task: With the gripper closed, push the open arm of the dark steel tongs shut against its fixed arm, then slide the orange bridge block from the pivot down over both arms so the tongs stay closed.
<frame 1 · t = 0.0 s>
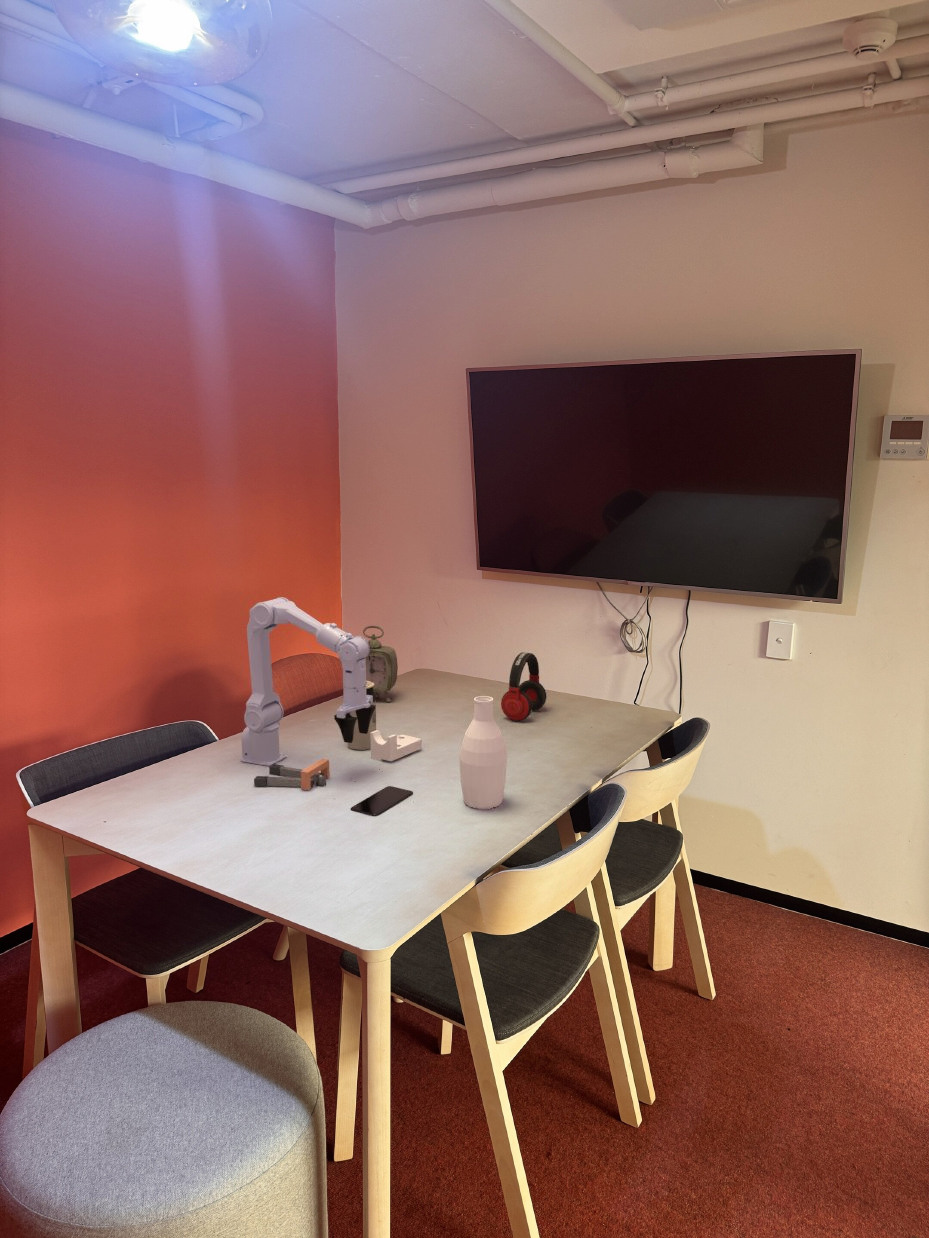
hand: (355, 737, 220), 10 cm above the table, tool pointing down, fingers open, 7 cm apart
bottle: (483, 803, 205), on the table
tong arm: (284, 781, 214), point 1 cm above the table, hinge at 18.0°
smartphone: (382, 803, 206), on the table
tabletop clock: (375, 699, 289), on the table
travel mug: (362, 746, 244), on the table
bracket: (396, 755, 237), on the table
headphones: (523, 716, 272), on the table
orange bridge block: (315, 774, 216), point 3 cm above the table, slide at 0.0 cm
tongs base: (321, 784, 216), on the table
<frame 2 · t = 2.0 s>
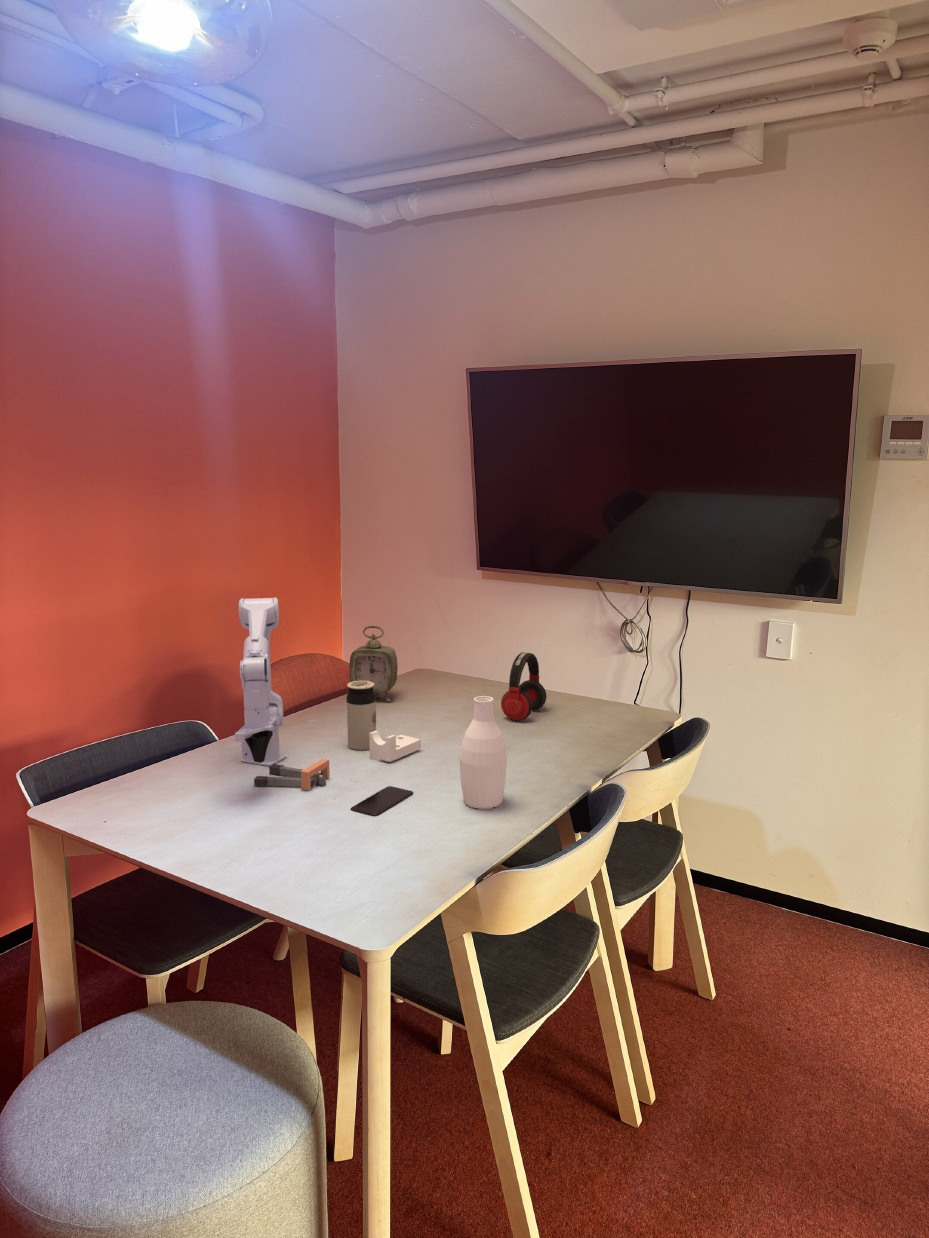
hand: (259, 761, 208), 8 cm above the table, tool pointing down, fingers closed
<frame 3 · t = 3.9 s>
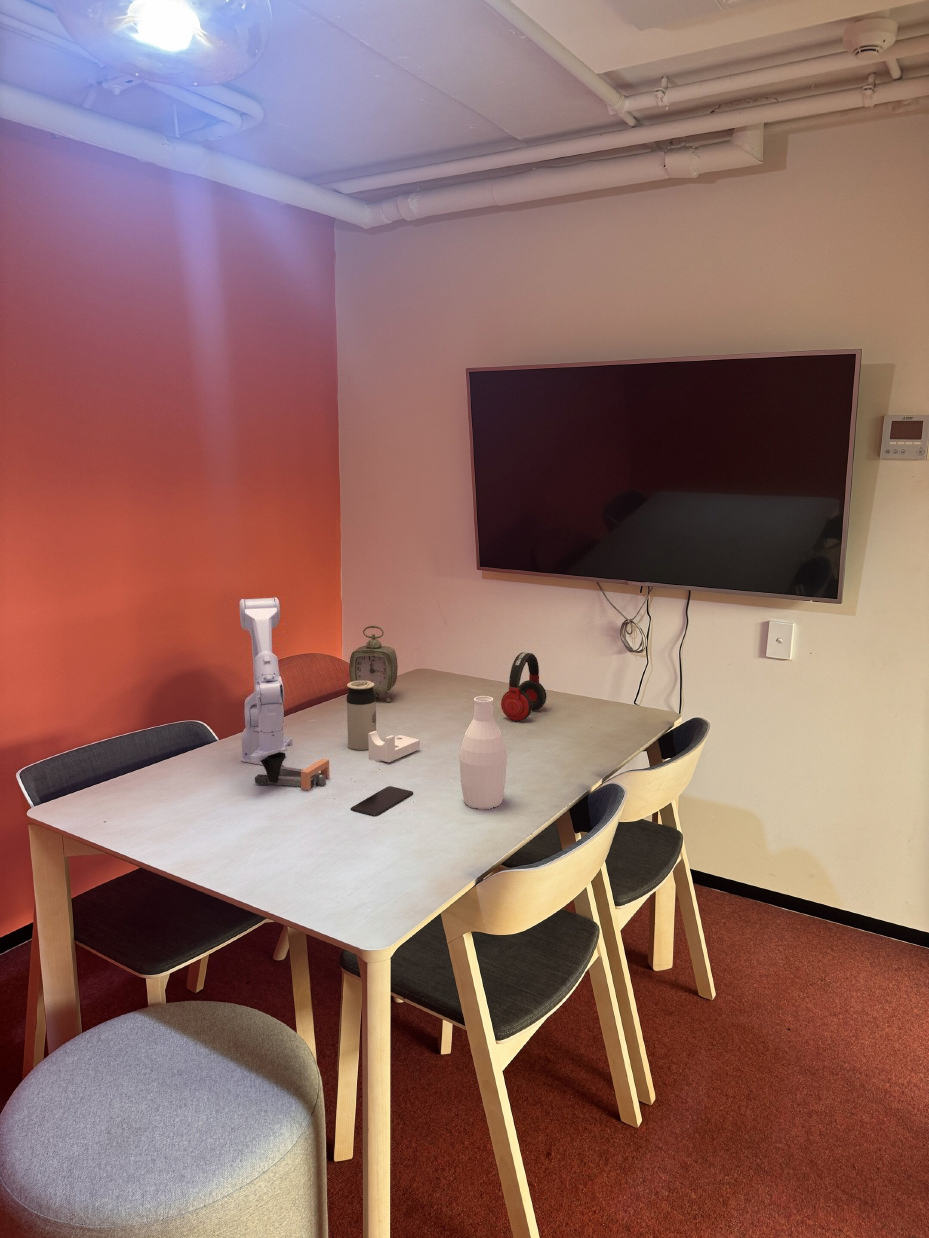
hand: (273, 781, 214), 1 cm above the table, tool pointing down, fingers closed
tong arm: (284, 780, 215), point 1 cm above the table, hinge at 13.9°, touching gripper
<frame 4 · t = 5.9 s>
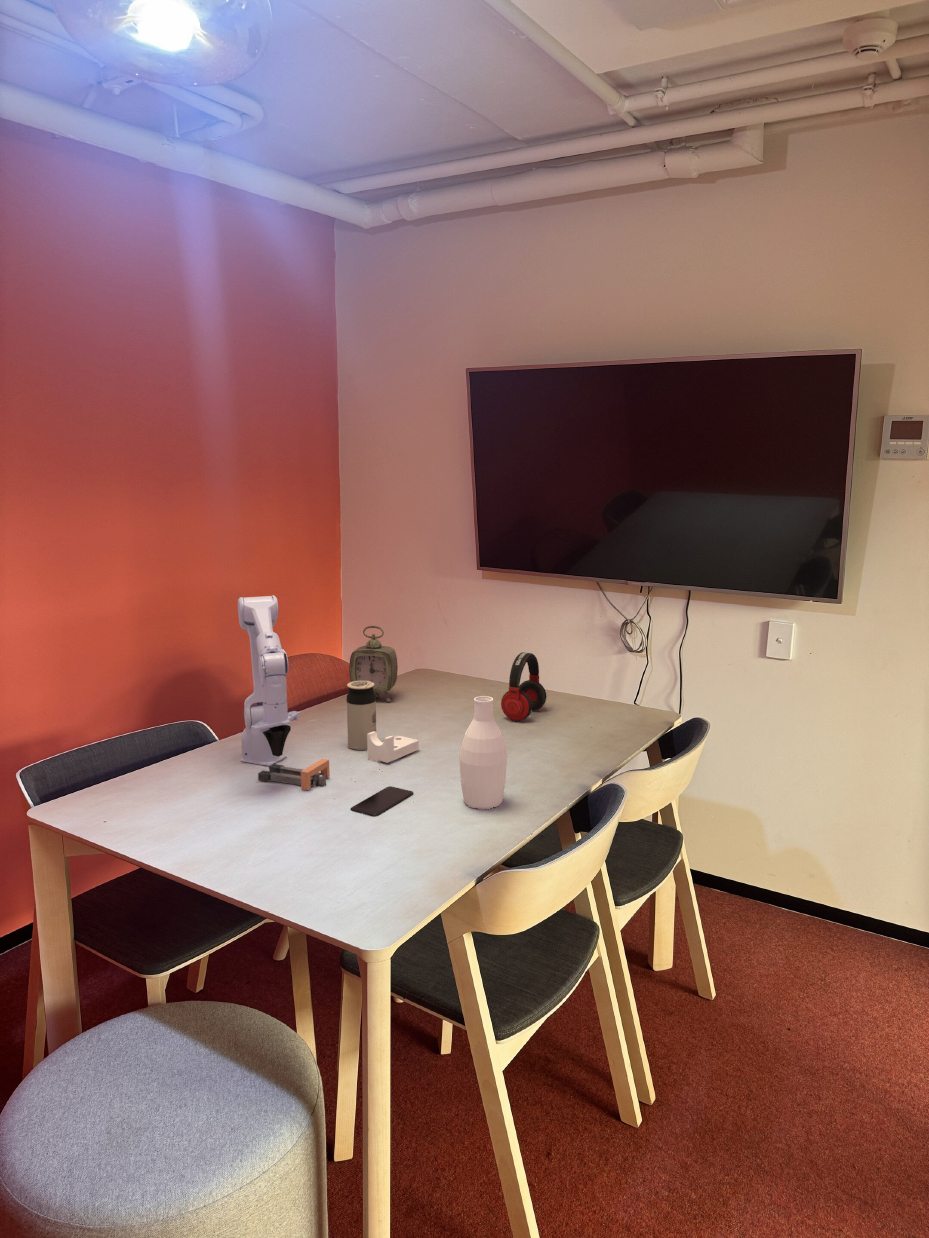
hand: (277, 755, 212), 8 cm above the table, tool pointing down, fingers closed
tong arm: (285, 778, 216), point 1 cm above the table, hinge at 4.4°
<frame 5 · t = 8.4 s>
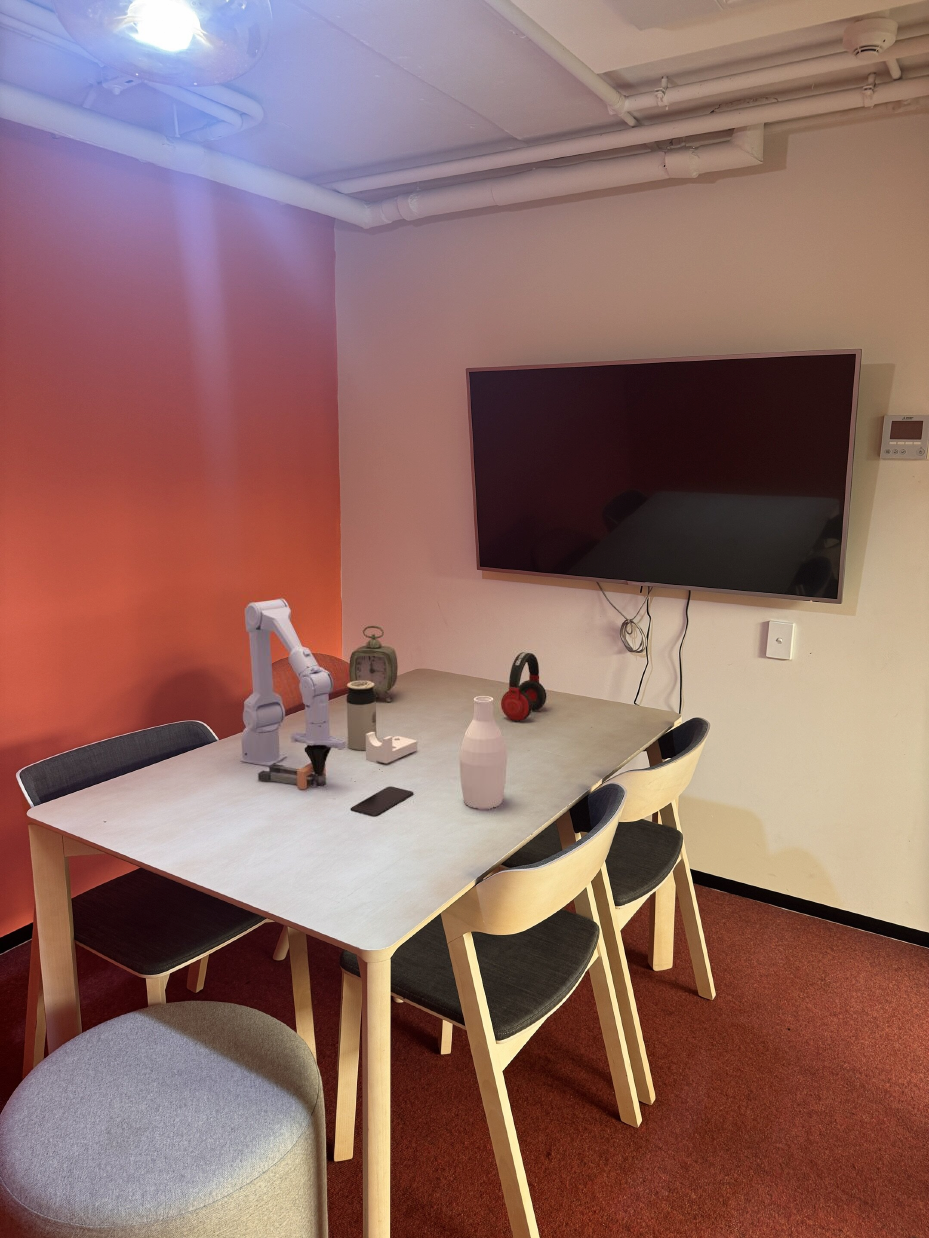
hand: (319, 773, 215), 3 cm above the table, tool pointing down, fingers closed
orange bridge block: (311, 773, 216), point 3 cm above the table, slide at 1.1 cm, touching gripper
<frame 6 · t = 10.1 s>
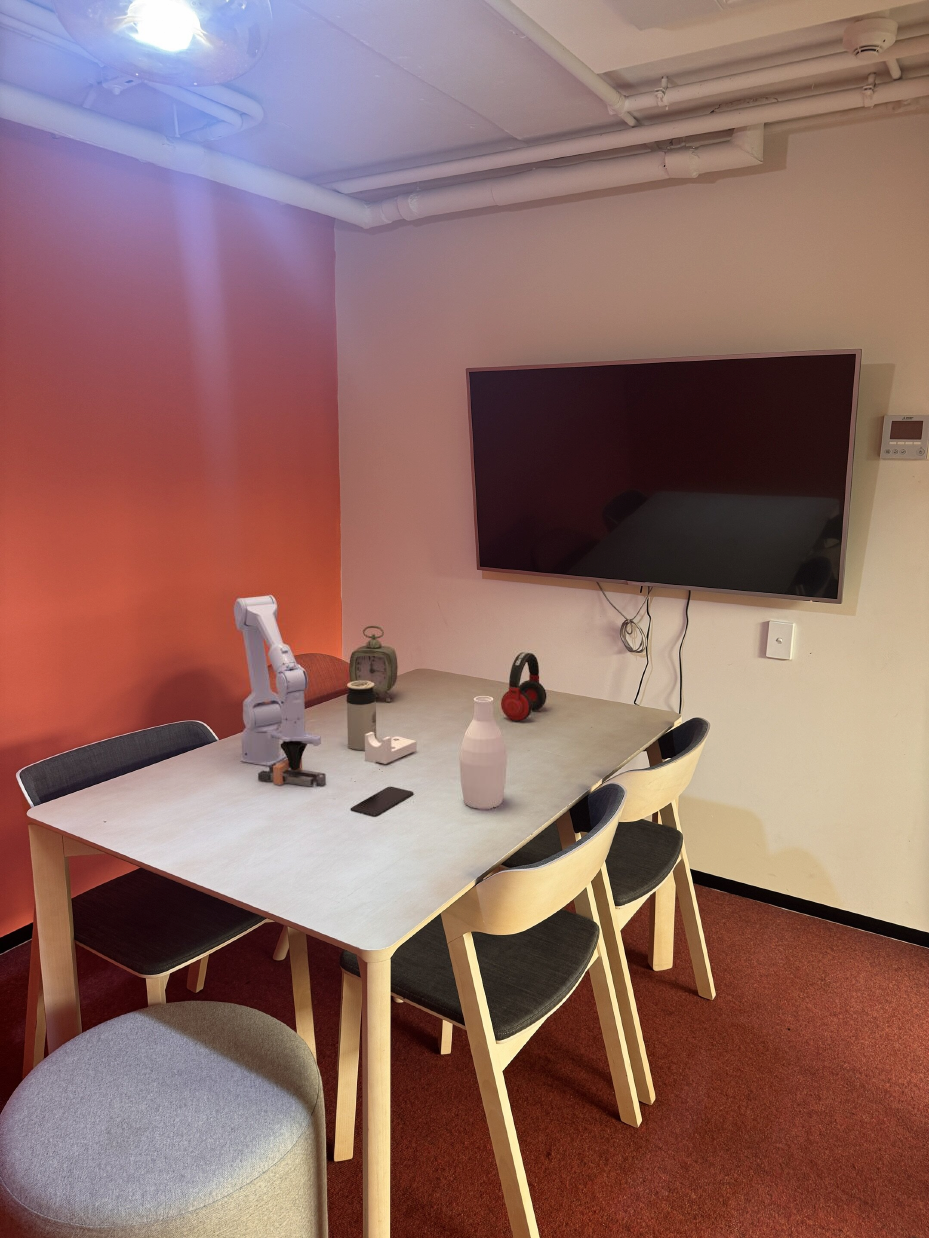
hand: (295, 768, 218), 3 cm above the table, tool pointing down, fingers closed
orange bridge block: (288, 769, 219), point 3 cm above the table, slide at 8.2 cm, touching gripper
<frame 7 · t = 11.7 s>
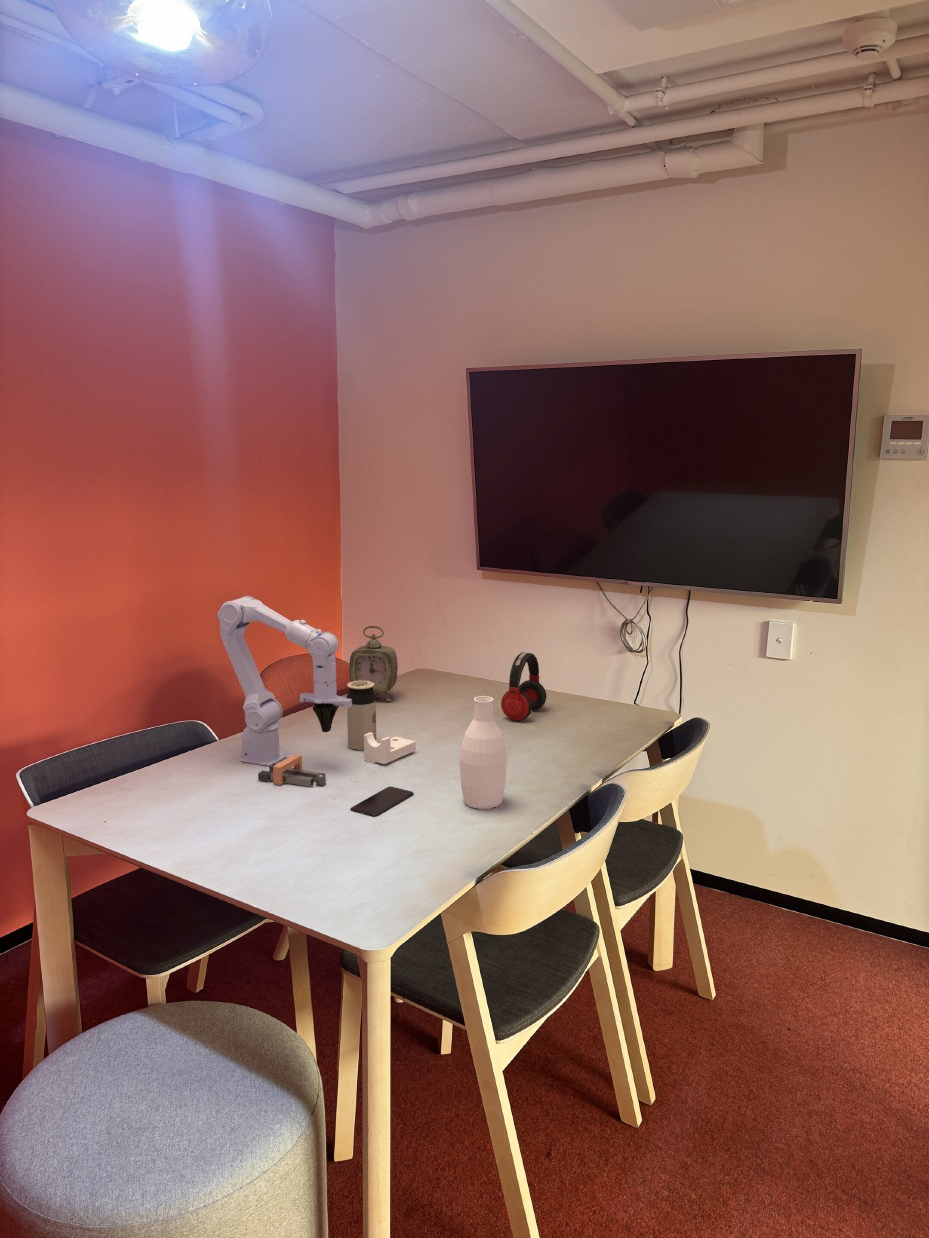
hand: (326, 730, 225), 10 cm above the table, tool pointing down, fingers closed
orange bridge block: (288, 769, 219), point 3 cm above the table, slide at 8.2 cm
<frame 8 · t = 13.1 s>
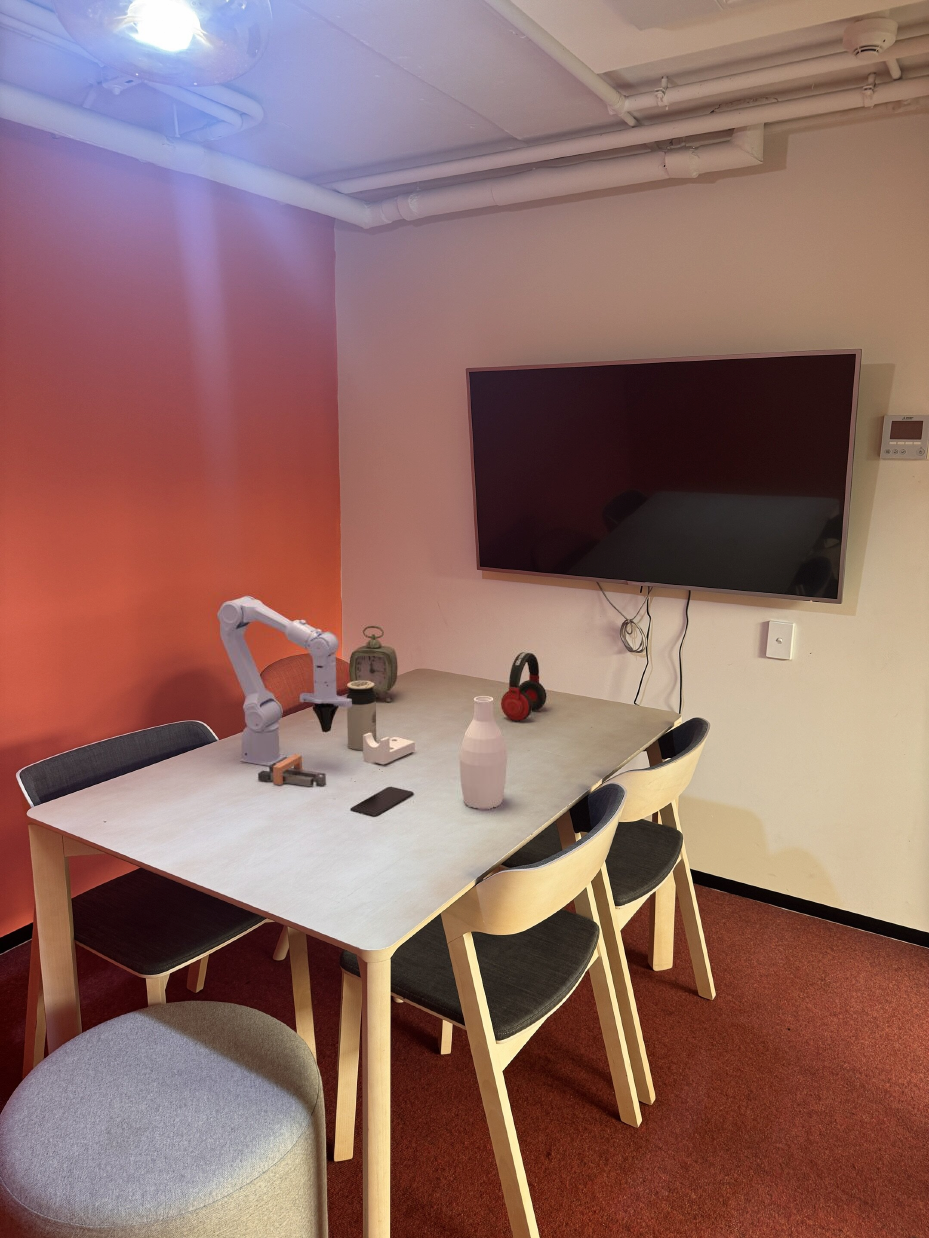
hand: (326, 730, 225), 10 cm above the table, tool pointing down, fingers closed
at the end: tong arm at +4° (first picture: +18°); orange bridge block slide at 8.2 cm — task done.
